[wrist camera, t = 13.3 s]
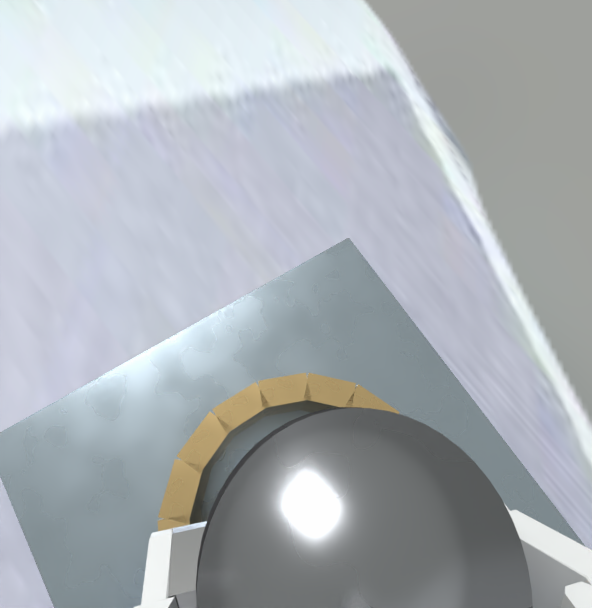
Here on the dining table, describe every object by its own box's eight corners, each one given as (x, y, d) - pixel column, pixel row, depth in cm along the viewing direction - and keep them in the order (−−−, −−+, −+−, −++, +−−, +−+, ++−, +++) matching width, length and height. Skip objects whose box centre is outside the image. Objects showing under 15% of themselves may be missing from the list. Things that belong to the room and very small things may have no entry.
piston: (398, 533, 16) (610, 632, 6) (280, 631, 14) (326, 946, 5) (319, 411, 17) (396, 345, 8) (203, 490, 15) (124, 527, 6)
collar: (599, 574, 17) (679, 599, 14) (213, 971, 13) (198, 1147, 9) (346, 242, 22) (362, 203, 19) (-8, 441, 17) (-69, 435, 14)
